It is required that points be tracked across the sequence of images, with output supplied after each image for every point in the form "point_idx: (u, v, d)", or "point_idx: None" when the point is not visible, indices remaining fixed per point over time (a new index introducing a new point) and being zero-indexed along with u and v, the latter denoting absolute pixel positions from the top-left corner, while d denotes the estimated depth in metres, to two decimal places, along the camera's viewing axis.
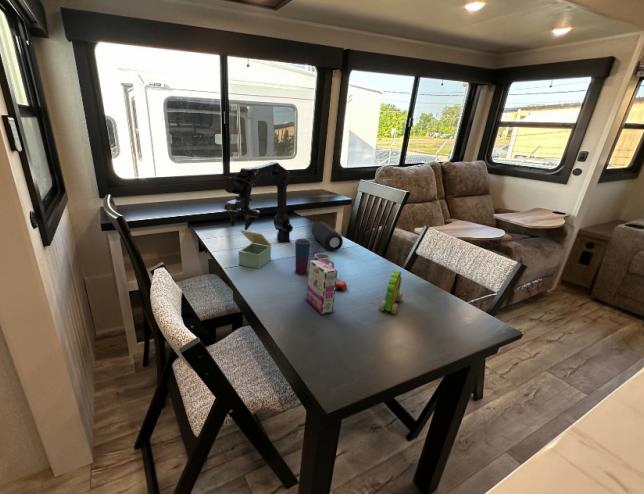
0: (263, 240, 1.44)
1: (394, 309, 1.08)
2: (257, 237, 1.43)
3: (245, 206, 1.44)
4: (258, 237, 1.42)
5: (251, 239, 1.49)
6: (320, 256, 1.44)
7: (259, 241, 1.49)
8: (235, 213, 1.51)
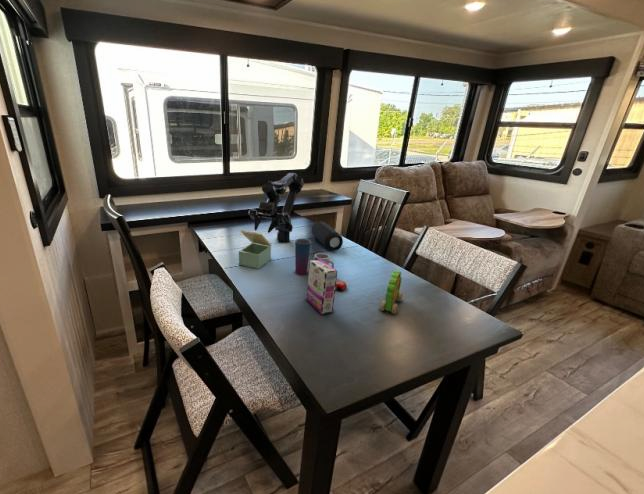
0: (263, 240, 1.44)
1: (394, 309, 1.08)
2: (257, 237, 1.43)
3: (273, 212, 1.52)
4: (258, 237, 1.42)
5: (251, 239, 1.49)
6: (320, 256, 1.44)
7: (259, 241, 1.49)
8: (259, 220, 1.55)
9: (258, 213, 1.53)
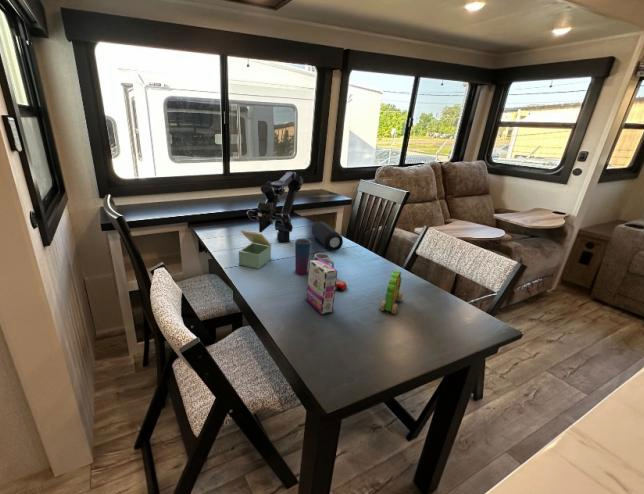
0: (263, 240, 1.44)
1: (394, 309, 1.08)
2: (257, 237, 1.43)
3: (271, 212, 1.50)
4: (258, 237, 1.42)
5: (251, 239, 1.49)
6: (320, 256, 1.44)
7: (259, 241, 1.49)
8: (263, 222, 1.52)
9: (263, 214, 1.50)
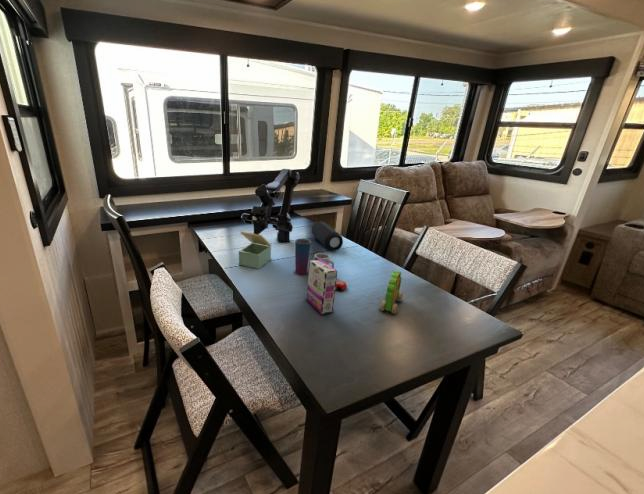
0: (263, 241, 1.44)
1: (394, 309, 1.08)
2: (257, 238, 1.42)
3: (266, 216, 1.46)
4: (258, 238, 1.42)
5: (251, 239, 1.49)
6: (320, 256, 1.44)
7: (259, 242, 1.49)
8: None
9: (257, 218, 1.46)
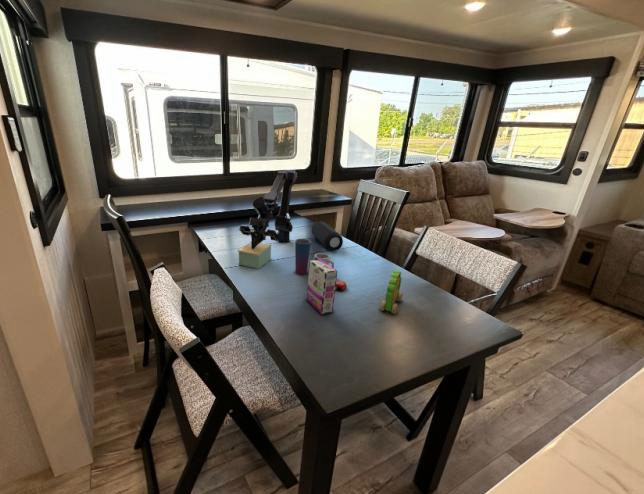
0: None
1: (394, 309, 1.08)
2: None
3: (264, 228, 1.46)
4: None
5: None
6: (320, 256, 1.44)
7: None
8: None
9: (255, 230, 1.46)
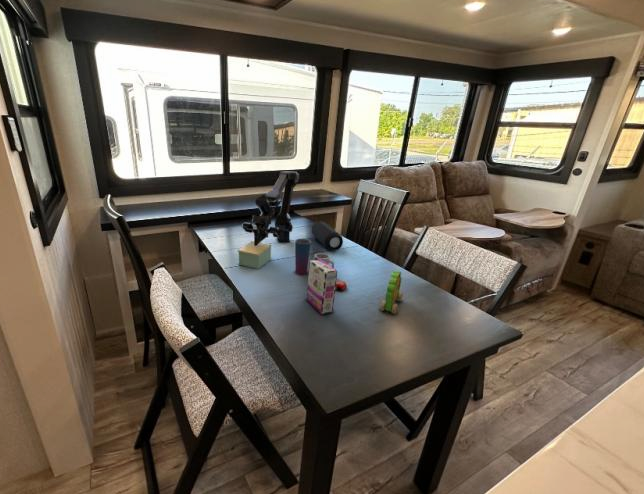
0: None
1: (394, 309, 1.08)
2: None
3: (267, 225, 1.48)
4: None
5: None
6: (320, 256, 1.44)
7: None
8: None
9: (258, 227, 1.48)
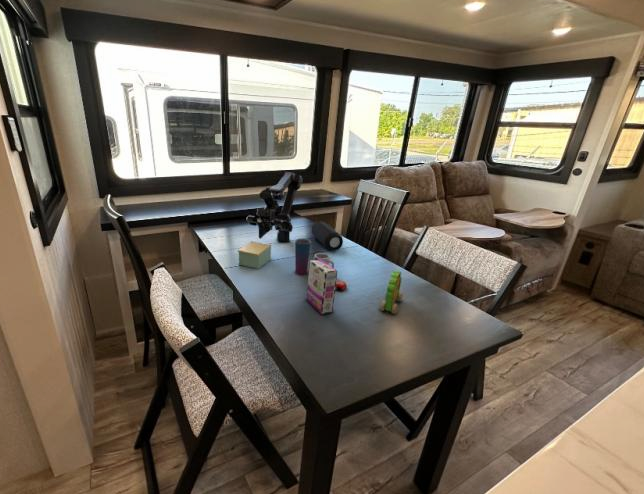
0: None
1: (394, 309, 1.08)
2: None
3: (271, 218, 1.51)
4: None
5: None
6: (320, 256, 1.44)
7: None
8: None
9: (262, 220, 1.51)
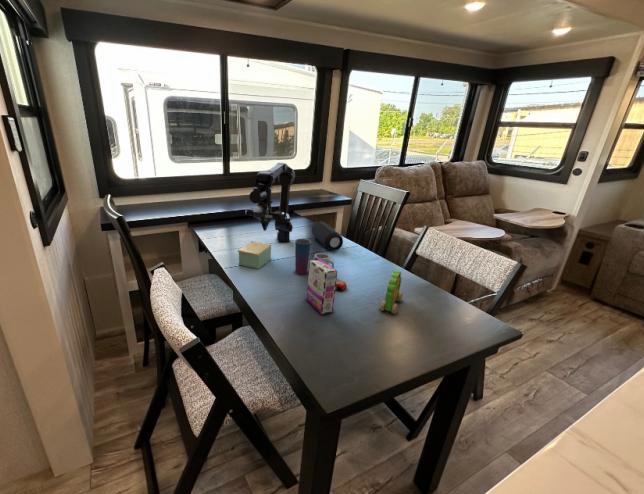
0: None
1: (394, 309, 1.08)
2: None
3: (269, 210, 1.47)
4: None
5: None
6: (320, 256, 1.44)
7: None
8: (264, 217, 1.52)
9: None
